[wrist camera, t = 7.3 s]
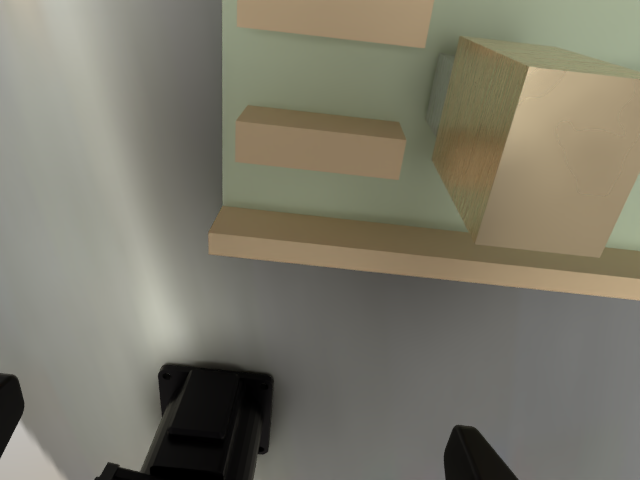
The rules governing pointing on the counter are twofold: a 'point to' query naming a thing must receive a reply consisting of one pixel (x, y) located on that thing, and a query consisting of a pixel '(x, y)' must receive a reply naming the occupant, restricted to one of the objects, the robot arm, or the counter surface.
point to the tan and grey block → (535, 143)
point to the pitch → (387, 137)
